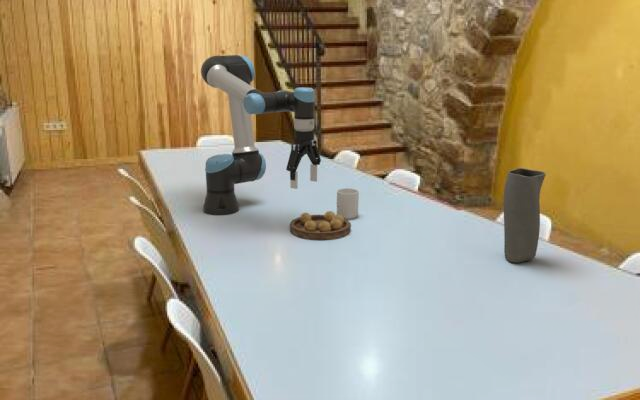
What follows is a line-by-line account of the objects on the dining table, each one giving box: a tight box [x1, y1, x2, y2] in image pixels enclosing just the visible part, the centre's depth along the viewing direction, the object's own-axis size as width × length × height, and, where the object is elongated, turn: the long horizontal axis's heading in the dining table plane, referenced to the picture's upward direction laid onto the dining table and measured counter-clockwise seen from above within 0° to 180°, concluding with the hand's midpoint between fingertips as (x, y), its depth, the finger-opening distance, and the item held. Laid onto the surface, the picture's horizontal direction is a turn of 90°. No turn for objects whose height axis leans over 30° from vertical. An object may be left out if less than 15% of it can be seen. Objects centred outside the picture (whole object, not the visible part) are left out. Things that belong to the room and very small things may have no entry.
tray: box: [289, 214, 352, 241], centre depth 225 cm, size 23×23×3 cm
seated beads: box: [304, 210, 344, 232], centre depth 223 cm, size 12×19×5 cm, turn 148°
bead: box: [299, 212, 312, 225], centre depth 228 cm, size 5×5×5 cm
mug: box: [336, 187, 360, 221], centre depth 242 cm, size 12×9×11 cm
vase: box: [502, 167, 547, 264], centre depth 193 cm, size 12×12×30 cm
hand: (304, 184), depth 225 cm, fingers open, 13 cm apart
